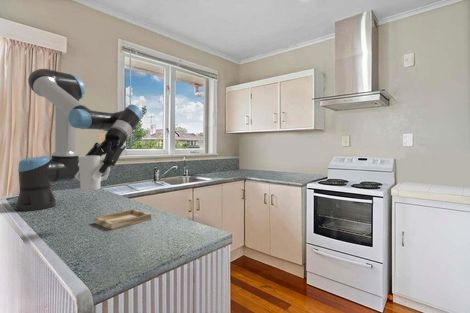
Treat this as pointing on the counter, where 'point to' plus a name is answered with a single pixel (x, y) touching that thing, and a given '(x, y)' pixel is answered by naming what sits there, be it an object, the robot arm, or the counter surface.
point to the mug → (90, 172)
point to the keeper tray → (122, 219)
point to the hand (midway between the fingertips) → (85, 179)
